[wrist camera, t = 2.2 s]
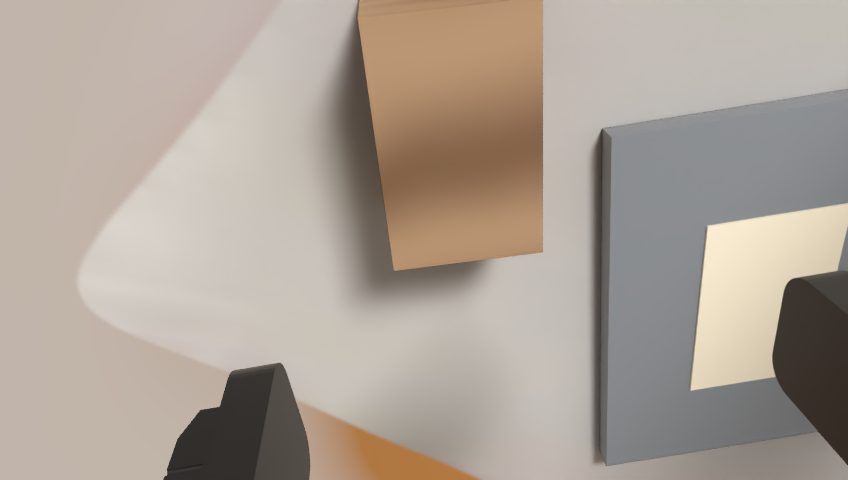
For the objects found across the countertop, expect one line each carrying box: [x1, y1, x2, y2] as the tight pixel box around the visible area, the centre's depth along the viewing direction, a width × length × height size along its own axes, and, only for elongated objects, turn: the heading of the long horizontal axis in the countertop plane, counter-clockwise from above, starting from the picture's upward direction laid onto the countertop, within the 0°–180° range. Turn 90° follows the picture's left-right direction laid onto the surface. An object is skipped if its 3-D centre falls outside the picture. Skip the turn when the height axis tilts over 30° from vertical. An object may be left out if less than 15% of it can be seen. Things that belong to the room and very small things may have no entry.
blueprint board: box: [600, 89, 848, 466], centre depth 27 cm, size 18×14×1 cm
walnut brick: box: [358, 0, 543, 271], centre depth 20 cm, size 8×5×5 cm, turn 6°
